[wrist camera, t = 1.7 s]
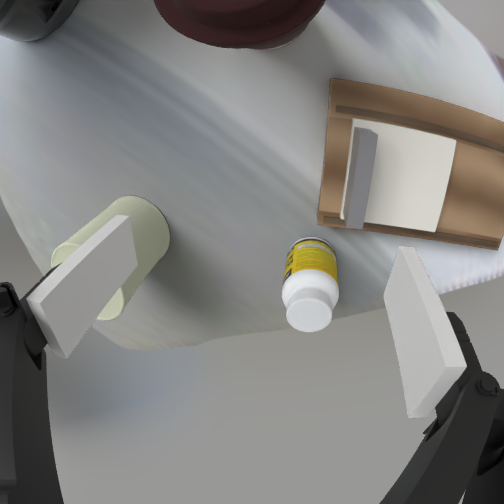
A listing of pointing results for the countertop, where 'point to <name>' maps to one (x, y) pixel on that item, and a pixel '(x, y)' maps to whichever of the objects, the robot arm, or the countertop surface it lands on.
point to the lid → (395, 176)
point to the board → (433, 121)
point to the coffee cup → (240, 21)
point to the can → (145, 241)
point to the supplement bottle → (310, 284)
